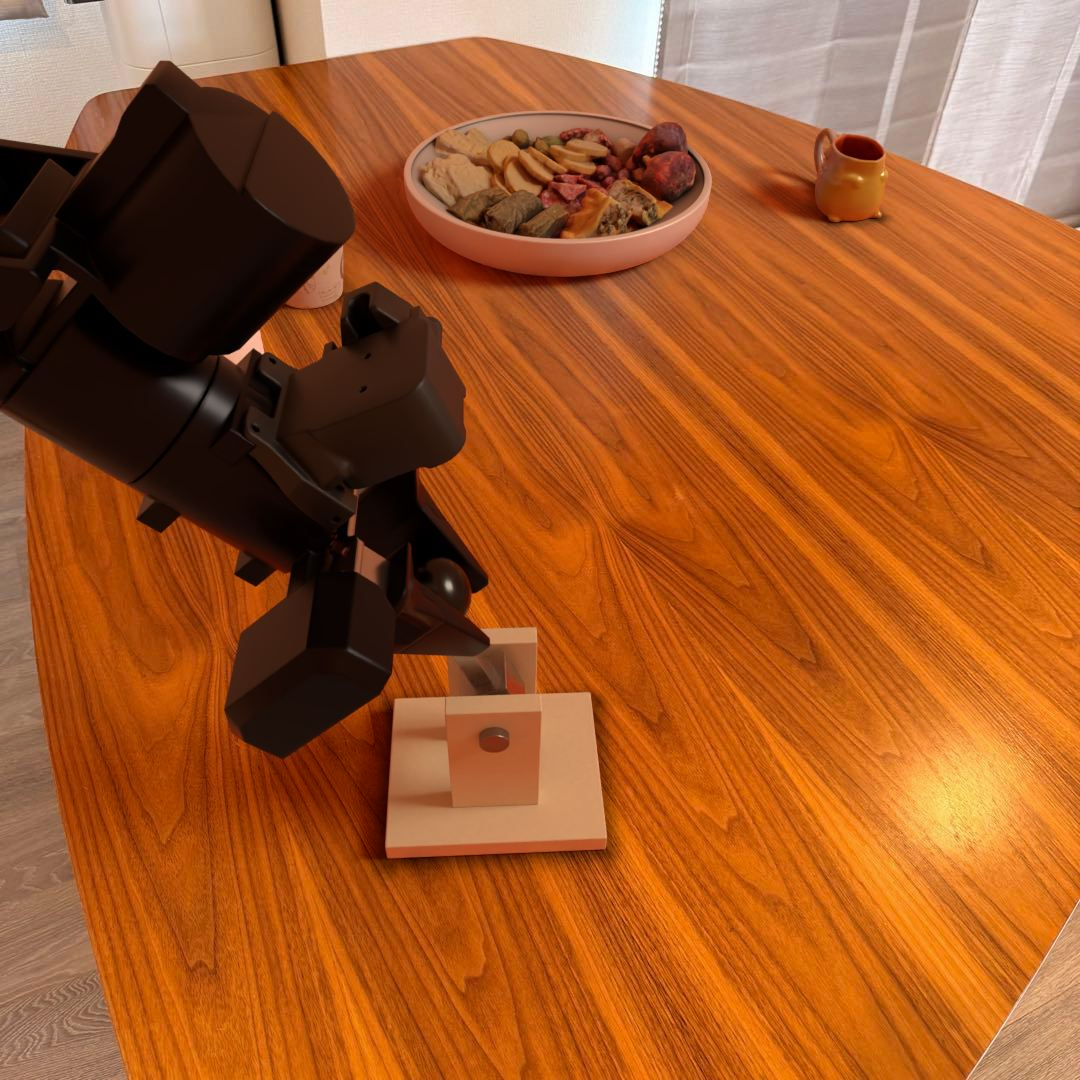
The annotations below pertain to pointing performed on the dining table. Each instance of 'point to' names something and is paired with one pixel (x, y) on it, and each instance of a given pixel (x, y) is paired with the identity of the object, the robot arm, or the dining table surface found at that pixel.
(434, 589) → the lever
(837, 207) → the mug
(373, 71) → the dining table surface
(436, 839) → the bracket
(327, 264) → the mug
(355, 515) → the robot arm
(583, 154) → the bowl
